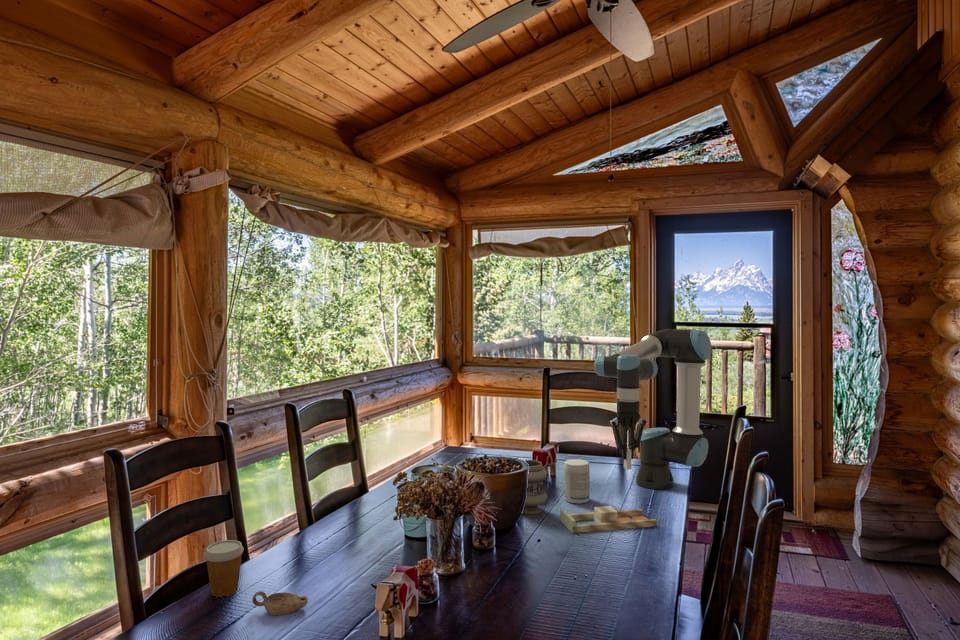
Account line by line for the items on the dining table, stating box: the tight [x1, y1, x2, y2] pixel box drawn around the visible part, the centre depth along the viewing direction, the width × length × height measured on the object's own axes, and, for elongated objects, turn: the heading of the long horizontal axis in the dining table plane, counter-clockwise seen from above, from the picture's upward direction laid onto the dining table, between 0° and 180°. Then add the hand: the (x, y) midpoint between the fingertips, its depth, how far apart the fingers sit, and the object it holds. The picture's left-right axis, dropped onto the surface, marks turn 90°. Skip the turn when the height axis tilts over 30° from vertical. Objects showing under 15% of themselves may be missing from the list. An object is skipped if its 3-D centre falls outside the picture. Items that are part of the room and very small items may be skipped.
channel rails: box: [568, 508, 658, 534], centre depth 206 cm, size 30×11×2 cm, turn 101°
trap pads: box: [617, 514, 649, 522], centre depth 208 cm, size 11×8×1 cm
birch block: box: [593, 505, 618, 524], centre depth 205 cm, size 6×6×5 cm
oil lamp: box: [251, 590, 309, 616], centre depth 147 cm, size 13×8×5 cm, turn 91°
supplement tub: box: [563, 458, 591, 505], centre depth 230 cm, size 10×10×15 cm
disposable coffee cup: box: [203, 539, 244, 598], centre depth 157 cm, size 10×10×12 cm
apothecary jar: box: [521, 459, 548, 518], centre depth 217 cm, size 12×12×18 cm
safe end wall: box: [559, 508, 576, 534], centre depth 203 cm, size 1×11×4 cm, turn 11°
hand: (627, 468), depth 206 cm, fingers closed
